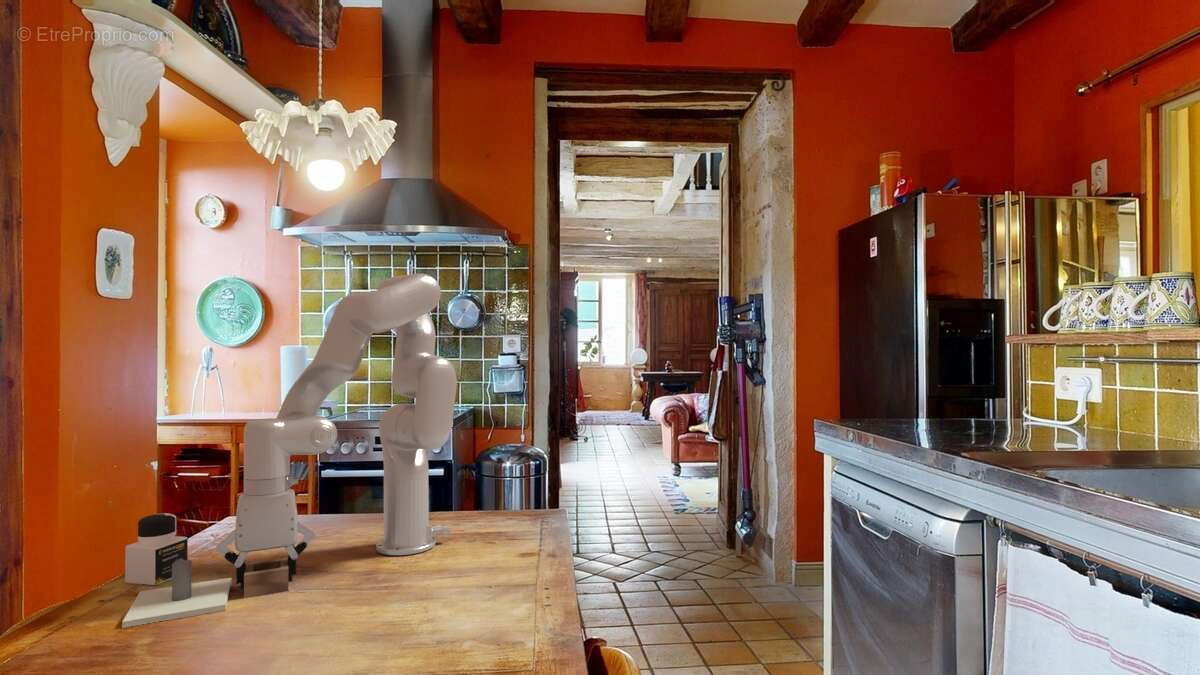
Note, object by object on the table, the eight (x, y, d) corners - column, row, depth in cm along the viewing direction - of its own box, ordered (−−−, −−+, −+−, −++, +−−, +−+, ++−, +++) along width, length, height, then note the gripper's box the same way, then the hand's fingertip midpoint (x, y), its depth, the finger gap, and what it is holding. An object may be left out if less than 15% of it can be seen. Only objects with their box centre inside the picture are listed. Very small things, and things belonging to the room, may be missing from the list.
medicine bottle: (155, 586, 115) (156, 521, 115) (124, 583, 117) (124, 519, 117) (188, 572, 122) (188, 511, 122) (158, 570, 124) (158, 510, 124)
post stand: (231, 582, 116) (231, 545, 117) (225, 610, 104) (225, 568, 104) (140, 597, 110) (140, 557, 110) (122, 628, 98) (122, 583, 98)
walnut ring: (288, 578, 119) (288, 557, 119) (288, 590, 112) (288, 568, 112) (246, 584, 115) (246, 563, 115) (244, 598, 109) (244, 575, 109)
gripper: (317, 477, 122) (317, 568, 121) (213, 487, 114) (213, 584, 113) (319, 484, 115) (319, 581, 114) (209, 495, 107) (209, 599, 107)
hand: (266, 582), depth 114 cm, fingers closed on walnut ring, 7 cm apart
